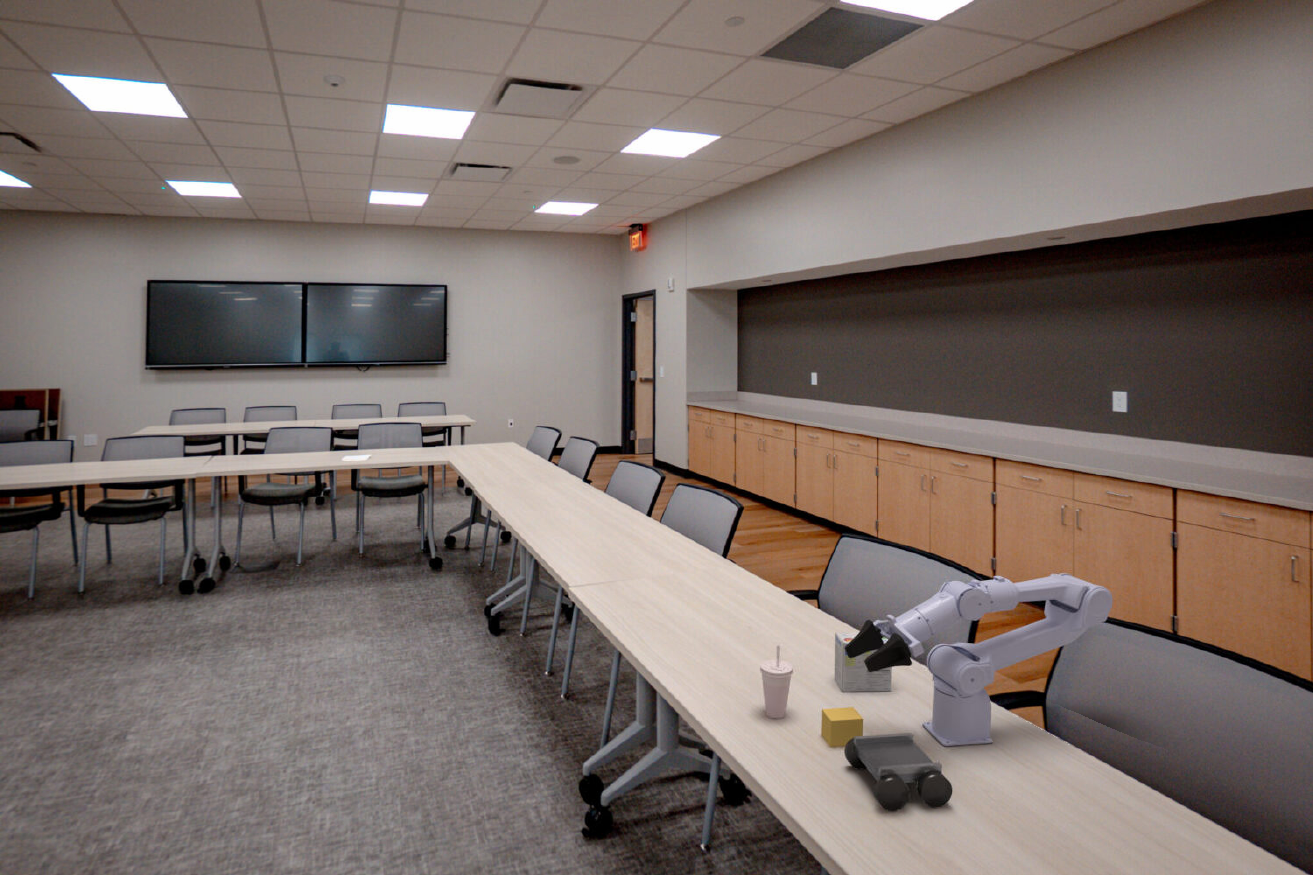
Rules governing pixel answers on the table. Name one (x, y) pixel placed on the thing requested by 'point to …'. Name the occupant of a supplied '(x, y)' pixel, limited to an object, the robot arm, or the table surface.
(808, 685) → the table surface
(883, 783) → the trolley
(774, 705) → the smoothie
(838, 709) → the yellow block
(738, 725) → the table surface
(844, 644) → the light bulb box
